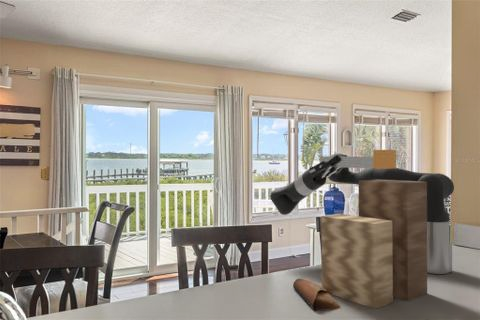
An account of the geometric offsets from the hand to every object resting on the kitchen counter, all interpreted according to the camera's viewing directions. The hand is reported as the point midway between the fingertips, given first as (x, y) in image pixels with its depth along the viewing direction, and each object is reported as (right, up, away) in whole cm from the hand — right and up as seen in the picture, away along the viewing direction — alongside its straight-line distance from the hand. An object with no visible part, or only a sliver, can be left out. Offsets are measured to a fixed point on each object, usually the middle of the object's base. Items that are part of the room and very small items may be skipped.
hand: (343, 157), depth 136 cm
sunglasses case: (-13, -40, -21) cm, 47 cm away
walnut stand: (+11, -39, -14) cm, 43 cm away
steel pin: (+3, -3, -4) cm, 6 cm away
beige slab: (-1, -39, -19) cm, 44 cm away
